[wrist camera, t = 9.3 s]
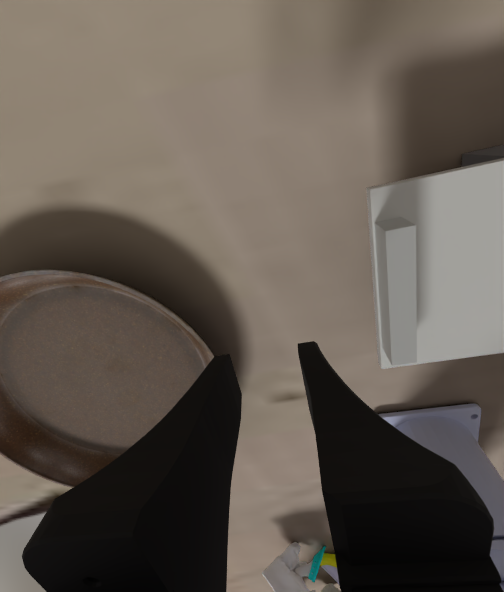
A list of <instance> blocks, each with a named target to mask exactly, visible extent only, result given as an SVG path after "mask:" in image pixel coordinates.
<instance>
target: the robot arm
mask: <svg viewBox="0 0 504 592" xmlns="http://www.w3.org/2000/svg"><path fill="white" fill-rule="evenodd" d="M298 354H299V359H300V364H301V369H302V374H303V379H304V385H305V390H306V395H307V400H308V405H309V410H310V414H311V418H312V422H313V426H314V430H315V434H316V442H317V450H318V458H319V467H320V476H321V484H322V492H323V497H324V502H325V507H326V512H327V517H328V521H329V526H330V531H331V536H332V541H333V546H334V551H335V558H336V565H337V571H338V578H339V584H340V589H341V592H504V480H503V479H502V477H501V476H500V475H499V473H498V472H497V470H496V469H495V467H494V466H493V464H492V463H491V461H490V460H489V458H488V457H487V456H486V454H485V453H484V451H483V450H482V448H481V447H480V445H479V444H478V438H479V429H480V419H481V408H480V407H479V406H478V405H477V404H463V405H455V406H446V407H437V408H428V409H419V410H411V411H402V412H393V413H384V414H377V413H376V412H374V411H373V410H372V409H371V408H370V407H369V406H367V405H366V404H365V403H364V402H363V401H362V400H361V399H360V398H359V397H358V396H357V395H356V394H355V393H354V392H353V391H352V390H351V389H350V388H349V387H348V386H347V385H346V384H345V383H344V382H343V380H342V379H341V378H340V377H339V376H338V375H337V373H336V372H335V371H334V370H333V368H332V367H331V366H330V364H329V363H328V362H327V360H326V359H325V357H324V356H323V354H322V352H321V351H320V349H319V347H318V344H317V343H316V342H314V341H313V342H306V343H299V344H298ZM241 398H242V394H241V390H240V387H239V384H238V381H237V377H236V374H235V371H234V368H233V364H232V361H231V358H230V355H229V354H227V355H220V356H214V358H213V359H212V360H211V361H210V363H209V364H208V365H207V367H206V368H205V369H204V371H203V372H202V373H201V374H200V376H199V377H198V378H197V380H196V381H195V382H194V383H193V385H192V386H191V387H190V388H189V390H188V391H187V392H186V393H185V394H184V396H183V397H182V398H181V399H180V400H179V401H178V402H177V404H176V405H175V406H174V407H173V408H172V409H171V410H170V411H169V412H168V413H167V415H166V416H165V417H164V418H163V419H162V420H161V421H160V422H158V423H157V424H156V425H155V426H154V427H153V428H152V429H151V430H150V431H149V432H148V433H147V434H146V435H144V436H143V437H142V438H141V439H140V440H138V441H137V442H136V443H135V444H134V445H132V446H131V447H130V448H129V449H128V450H127V451H125V452H124V453H123V454H121V455H120V456H119V457H118V458H116V459H115V460H114V461H112V462H111V463H109V464H108V465H107V466H105V467H104V468H102V469H101V470H100V471H98V472H97V473H95V474H94V475H92V476H91V477H89V478H88V479H86V480H85V481H83V482H81V483H80V484H78V485H77V486H75V487H74V488H72V489H70V490H69V491H67V492H66V493H64V494H62V495H61V496H59V497H57V498H56V499H55V500H54V501H53V503H52V504H51V506H50V508H49V509H48V511H47V513H46V514H45V516H44V517H43V519H42V521H41V522H40V524H39V526H38V527H37V529H36V530H35V532H34V534H33V535H32V537H31V539H30V540H29V542H28V543H27V545H26V547H25V548H24V551H23V555H22V559H23V562H24V566H25V568H26V570H27V571H28V572H29V574H30V575H31V576H32V577H33V578H34V579H35V580H36V581H37V582H38V583H39V584H40V585H41V586H42V587H43V588H44V589H45V590H46V591H47V592H226V581H227V545H228V523H229V505H230V488H231V479H232V471H233V465H234V459H235V453H236V447H237V440H238V434H239V427H240V421H241Z"/></svg>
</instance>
